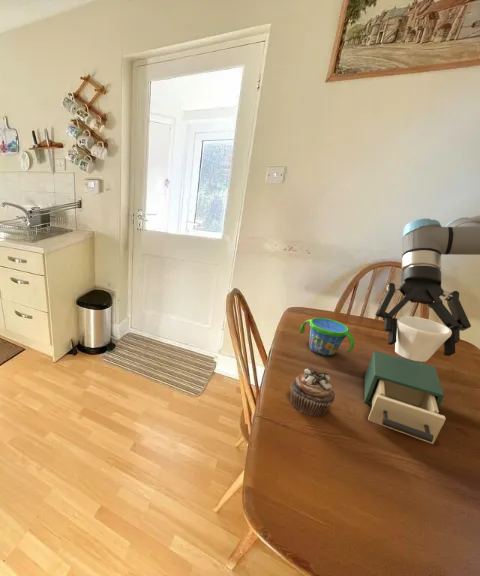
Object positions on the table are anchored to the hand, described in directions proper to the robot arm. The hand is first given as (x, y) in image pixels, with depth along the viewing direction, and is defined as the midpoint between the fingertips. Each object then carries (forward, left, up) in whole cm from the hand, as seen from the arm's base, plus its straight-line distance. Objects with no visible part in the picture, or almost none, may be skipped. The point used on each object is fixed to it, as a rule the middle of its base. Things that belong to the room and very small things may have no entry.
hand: (419, 348), depth 78 cm
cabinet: (+1, -2, -17) cm, 17 cm away
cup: (+1, -3, -4) cm, 5 cm away
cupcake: (+19, +16, -17) cm, 30 cm away
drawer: (+1, +10, -16) cm, 19 cm away
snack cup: (+19, -18, -17) cm, 31 cm away
